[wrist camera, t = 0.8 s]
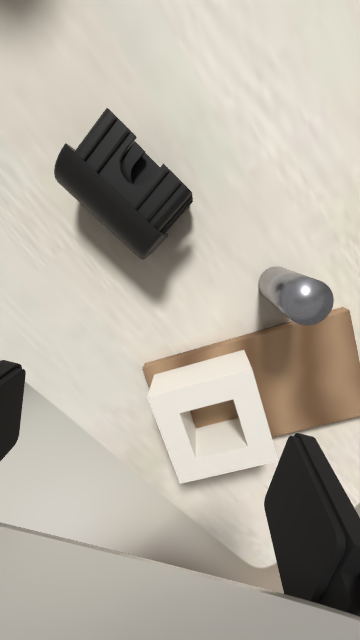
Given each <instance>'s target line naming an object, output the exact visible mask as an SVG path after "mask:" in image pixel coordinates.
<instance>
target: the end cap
mask: <svg viewBox="0 0 360 640" xmlns="http://www.w3.org/2000/svg"><path fill="white" fill-rule="evenodd" d="M136 138H137V137H136V136H135V135H134V134H133V133H132V132H131V131H130V130H129V129H128V128H127V127H126V126H125V125H124V124H123V123H122V122H121V121H120V120H119V119H118V118H117V117H116V116H115V115H114V114H113V113H112V112H111V111H110V110H109V109H108V108H106V110H105V111H104V112H103V114H102V115H101V117H100V118H99V119H98V121H97V122H96V123H95V125H94V126H93V127H92V129H91V130H90V131H89V133H88V134H87V136H86V137H85V138H84V140H83V141H82V142H81V144H80V145H79V146H78V148H77V149H76V150H75V149H73V148H72V147H70V146H69V145H68V144H66V143H65V145H64V146H63V148H62V150H61V152H60V153H59V155H58V158H57V160H56V164H55V170H54V174H55V178H56V180H57V182H58V183H59V184H60V185H62V186H63V187H64V188H65V189H66V190H67V191H68V192H69V193H70V194H71V195H72V196H73V197H74V198H76V199H77V200H78V201H79V202H80V203H81V204H82V205H83V206H84V207H85V208H86V209H87V210H88V211H90V212H91V213H92V214H93V215H94V216H95V217H96V218H97V219H98V220H99V221H100V222H101V223H102V224H104V225H105V226H106V227H107V228H108V229H109V230H110V231H111V232H112V233H113V234H114V235H115V236H116V237H118V238H119V239H120V240H121V241H122V242H123V243H124V244H125V245H126V246H127V247H128V248H129V249H131V250H132V251H133V252H134V253H135V254H136V255H137V256H138V257H139V258H140V259H145V258H146V257H148V256H149V255H150V254H151V253H152V252H153V251H154V250H155V249H156V248H157V247H158V246H159V245H160V244H161V243H162V242H163V241H164V240H165V238H166V237H167V236H168V235H167V234H166V232H167V230H168V229H169V228H170V227H171V226H172V225H173V224H174V222H175V221H176V220H177V219H178V218H179V217H180V216H181V214H182V213H183V212H184V211H185V210H186V209H187V208H188V207H189V205H190V204H191V203H192V202H193V197H192V192H191V191H190V190H189V189H188V188H187V187H186V186H185V185H184V184H183V183H182V182H181V181H180V180H179V179H178V178H177V177H176V176H175V175H174V174H173V173H172V172H171V171H170V170H169V169H168V168H167V167H166V166H165V165H164V164H163V165H162V166H161V167H159V166H158V165H157V164H156V163H155V162H154V161H153V160H152V159H151V158H150V157H149V156H148V155H147V154H146V152H145V151H144V150H143V149H142V148H141V147H140V146H139V145H138V144H137V143H136V142H135V141H134V140H135V139H136Z"/></svg>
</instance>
